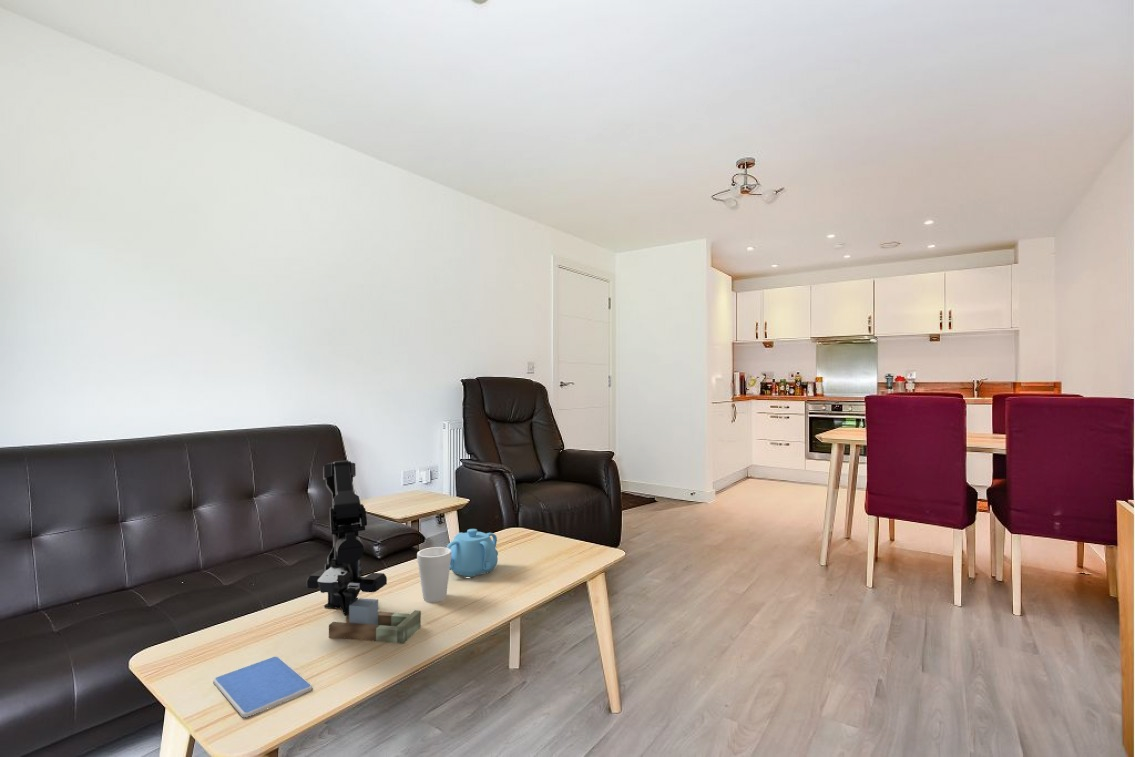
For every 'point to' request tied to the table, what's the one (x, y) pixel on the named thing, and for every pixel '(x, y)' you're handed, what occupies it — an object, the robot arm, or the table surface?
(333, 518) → the robot arm
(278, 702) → the tablet computer
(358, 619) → the block
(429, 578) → the foam cup
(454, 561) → the decorative pot
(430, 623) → the table surface
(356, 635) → the u-shaped frame
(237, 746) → the table surface
